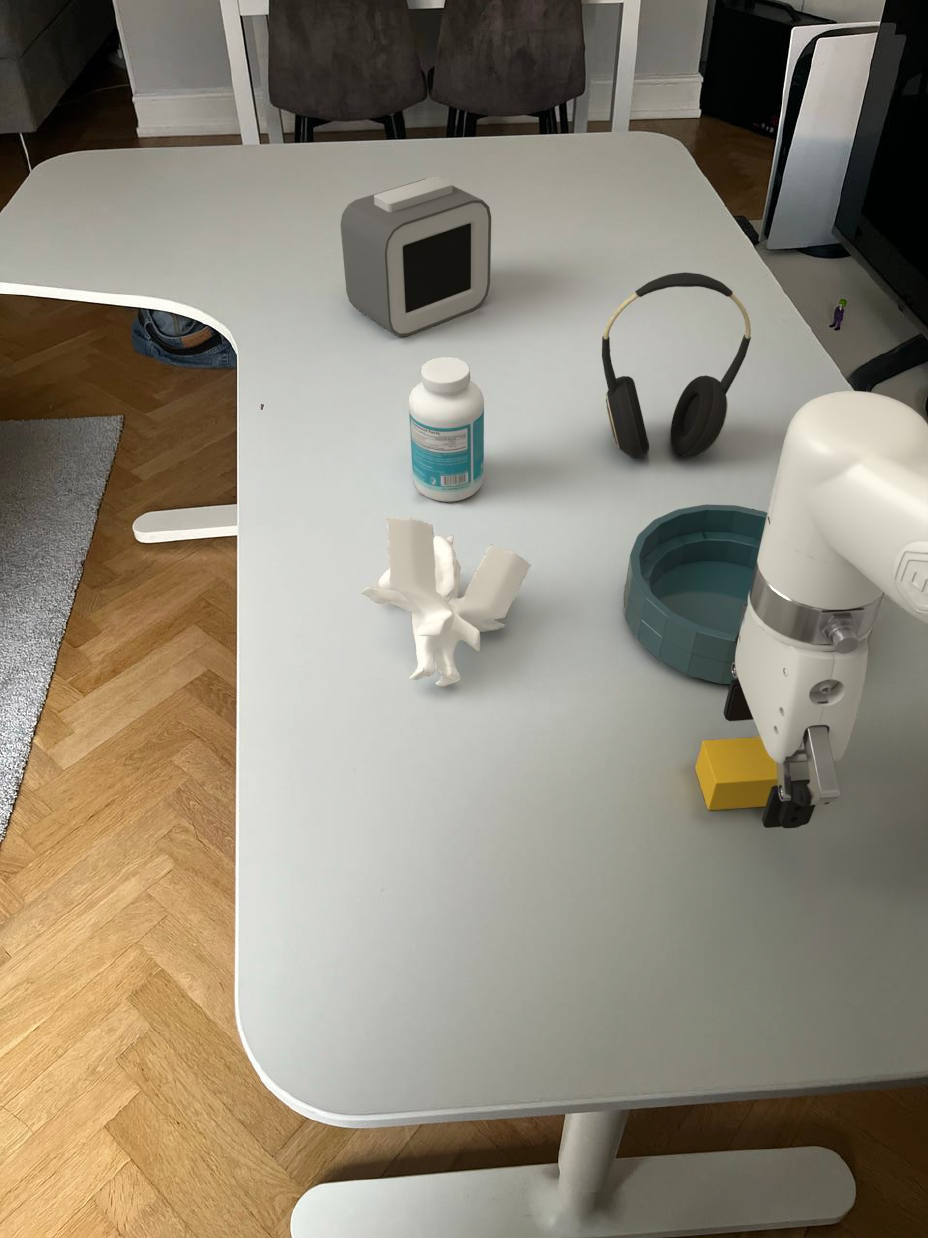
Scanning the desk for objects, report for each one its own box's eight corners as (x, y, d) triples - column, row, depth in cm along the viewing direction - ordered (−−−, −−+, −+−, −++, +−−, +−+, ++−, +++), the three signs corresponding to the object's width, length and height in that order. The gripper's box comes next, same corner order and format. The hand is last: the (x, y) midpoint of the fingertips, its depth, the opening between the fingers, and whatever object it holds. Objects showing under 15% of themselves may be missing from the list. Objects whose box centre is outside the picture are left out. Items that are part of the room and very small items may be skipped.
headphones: (733, 472, 105) (775, 295, 91) (594, 473, 105) (614, 296, 91) (718, 427, 111) (755, 254, 97) (586, 427, 111) (604, 254, 97)
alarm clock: (390, 343, 125) (382, 219, 114) (339, 309, 131) (328, 189, 120) (489, 304, 132) (491, 184, 121) (437, 274, 138) (435, 157, 127)
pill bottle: (449, 453, 108) (447, 340, 98) (498, 483, 104) (501, 368, 94) (397, 483, 104) (390, 368, 94) (446, 514, 100) (444, 398, 91)
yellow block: (694, 768, 78) (702, 740, 75) (757, 764, 78) (766, 735, 75) (707, 811, 75) (715, 783, 72) (772, 806, 75) (783, 778, 73)
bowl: (854, 607, 90) (873, 557, 86) (765, 724, 81) (781, 674, 77) (684, 530, 98) (694, 481, 94) (585, 628, 89) (591, 578, 84)
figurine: (460, 717, 91) (457, 579, 97) (541, 679, 82) (532, 531, 88) (314, 686, 83) (320, 538, 88) (388, 641, 74) (389, 480, 80)
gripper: (935, 691, 54) (857, 866, 66) (826, 502, 67) (777, 677, 79) (800, 701, 54) (746, 875, 66) (716, 510, 66) (683, 684, 78)
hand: (763, 767), depth 72 cm, fingers open, 9 cm apart
